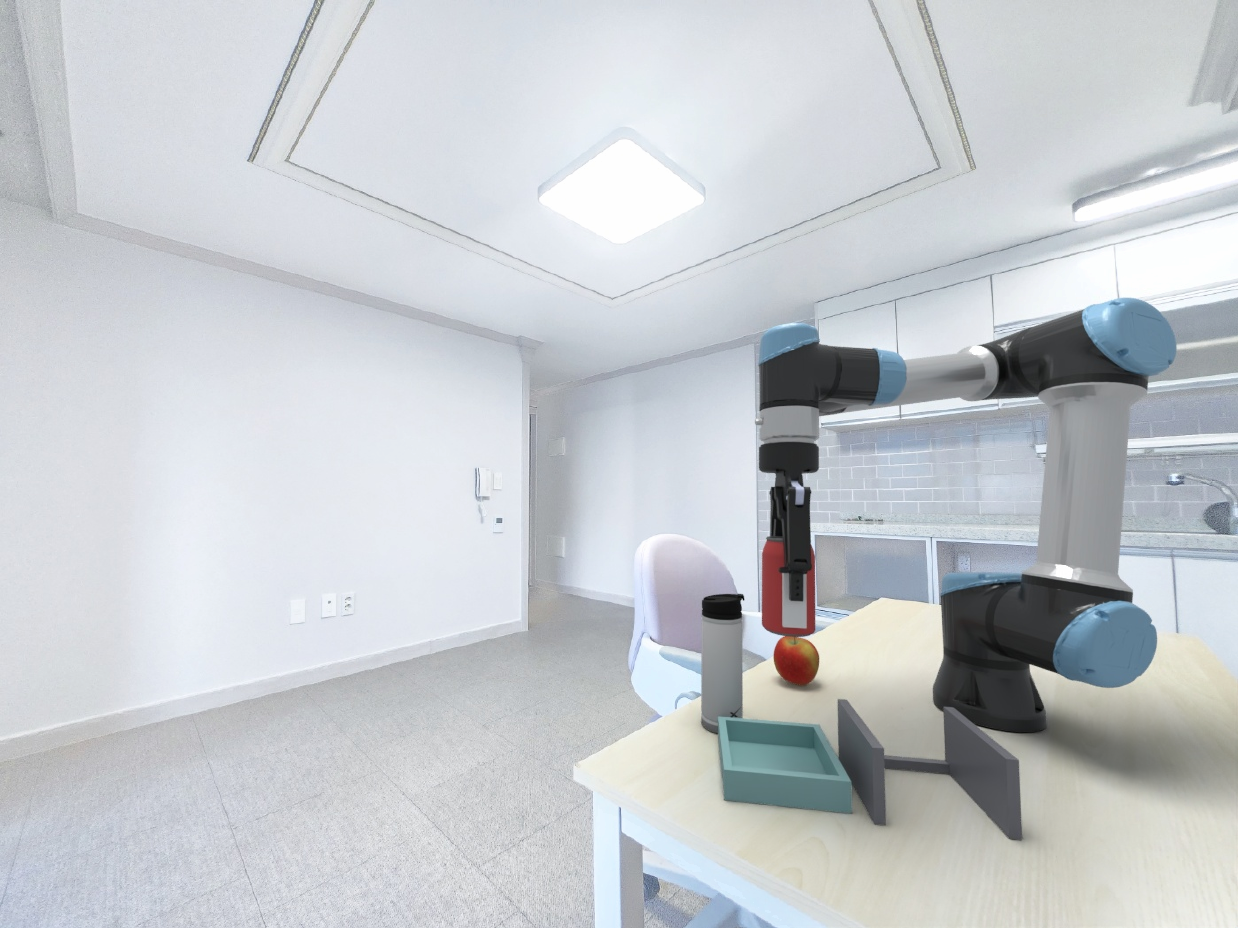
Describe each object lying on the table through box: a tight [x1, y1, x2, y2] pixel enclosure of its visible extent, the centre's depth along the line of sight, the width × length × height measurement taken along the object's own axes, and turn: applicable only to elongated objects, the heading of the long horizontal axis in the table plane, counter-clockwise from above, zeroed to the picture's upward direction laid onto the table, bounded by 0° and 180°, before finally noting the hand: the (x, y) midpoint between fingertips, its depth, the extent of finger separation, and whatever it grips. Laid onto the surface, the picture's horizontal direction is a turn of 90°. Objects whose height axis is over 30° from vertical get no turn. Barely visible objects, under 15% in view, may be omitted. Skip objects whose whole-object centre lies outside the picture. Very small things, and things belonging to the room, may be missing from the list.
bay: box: [837, 698, 1023, 841], centre depth 58 cm, size 14×13×8 cm
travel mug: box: [700, 593, 745, 734], centre depth 76 cm, size 6×7×20 cm
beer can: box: [761, 535, 816, 638], centre depth 63 cm, size 7×7×12 cm
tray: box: [717, 716, 853, 814], centre depth 62 cm, size 14×14×3 cm
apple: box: [772, 636, 820, 687], centre depth 93 cm, size 8×8×10 cm
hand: (788, 619), depth 63 cm, fingers closed on beer can, 6 cm apart
